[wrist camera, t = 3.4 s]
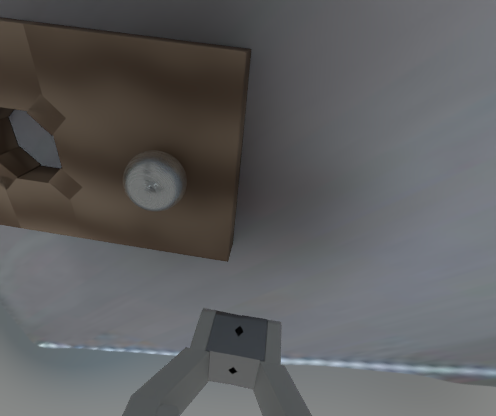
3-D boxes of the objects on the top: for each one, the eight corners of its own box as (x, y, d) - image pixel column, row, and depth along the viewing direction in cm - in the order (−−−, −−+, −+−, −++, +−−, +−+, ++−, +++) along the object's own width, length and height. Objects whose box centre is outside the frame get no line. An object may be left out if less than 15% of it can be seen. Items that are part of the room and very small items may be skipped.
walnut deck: (-73, 8, 19) (-118, 5, 17) (251, 49, 18) (246, 51, 16) (10, 207, 28) (-13, 222, 26) (232, 243, 27) (227, 261, 25)
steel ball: (136, 137, 20) (105, 160, 16) (194, 146, 19) (174, 170, 16) (142, 188, 22) (115, 218, 18) (193, 196, 22) (176, 227, 18)
